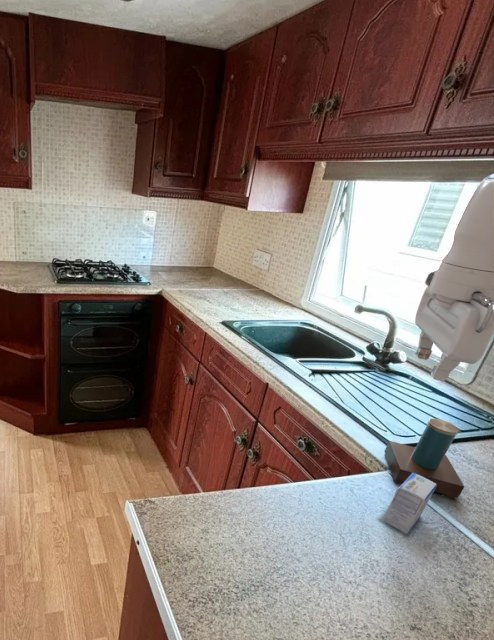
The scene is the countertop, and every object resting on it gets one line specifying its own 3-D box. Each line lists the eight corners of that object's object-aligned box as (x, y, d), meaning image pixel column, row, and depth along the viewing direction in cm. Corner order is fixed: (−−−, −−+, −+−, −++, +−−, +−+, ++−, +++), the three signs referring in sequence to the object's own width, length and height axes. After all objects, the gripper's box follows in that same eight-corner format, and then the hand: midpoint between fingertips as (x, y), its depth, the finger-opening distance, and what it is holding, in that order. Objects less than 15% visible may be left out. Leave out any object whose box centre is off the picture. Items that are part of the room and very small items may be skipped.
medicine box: (406, 535, 76) (425, 500, 73) (381, 520, 79) (398, 486, 76) (419, 517, 81) (438, 484, 77) (395, 503, 84) (412, 471, 80)
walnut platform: (438, 468, 97) (446, 455, 95) (456, 501, 87) (464, 486, 85) (383, 453, 100) (389, 440, 99) (393, 483, 90) (400, 469, 88)
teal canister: (434, 458, 93) (454, 422, 89) (441, 472, 89) (462, 435, 84) (407, 452, 95) (425, 416, 90) (413, 465, 90) (433, 427, 86)
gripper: (526, 306, 52) (475, 399, 58) (467, 277, 69) (432, 351, 75) (468, 297, 54) (424, 388, 60) (425, 271, 71) (394, 344, 77)
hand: (428, 367), depth 68 cm, fingers open, 8 cm apart
